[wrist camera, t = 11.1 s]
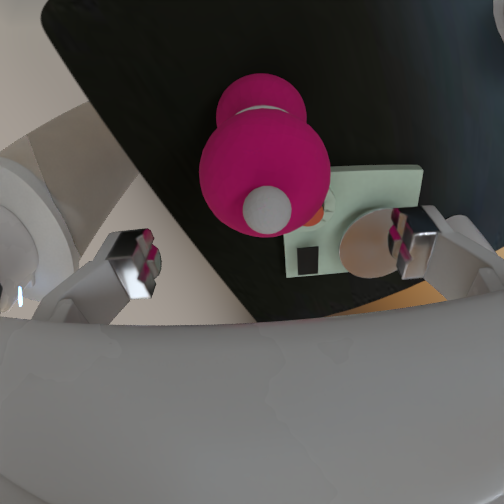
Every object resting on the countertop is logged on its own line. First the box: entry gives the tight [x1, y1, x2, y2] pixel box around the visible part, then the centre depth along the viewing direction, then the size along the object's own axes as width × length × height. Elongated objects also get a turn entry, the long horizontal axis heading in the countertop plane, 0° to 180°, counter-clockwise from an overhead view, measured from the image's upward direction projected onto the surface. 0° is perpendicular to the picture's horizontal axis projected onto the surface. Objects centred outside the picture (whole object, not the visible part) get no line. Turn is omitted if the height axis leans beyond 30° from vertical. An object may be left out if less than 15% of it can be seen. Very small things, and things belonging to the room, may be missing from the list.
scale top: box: [297, 207, 397, 278], centre depth 32 cm, size 15×10×1 cm
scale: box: [283, 165, 423, 278], centre depth 32 cm, size 16×14×3 cm
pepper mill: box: [199, 73, 331, 237], centre depth 18 cm, size 7×7×20 cm
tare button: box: [303, 206, 324, 227], centre depth 29 cm, size 3×3×2 cm
